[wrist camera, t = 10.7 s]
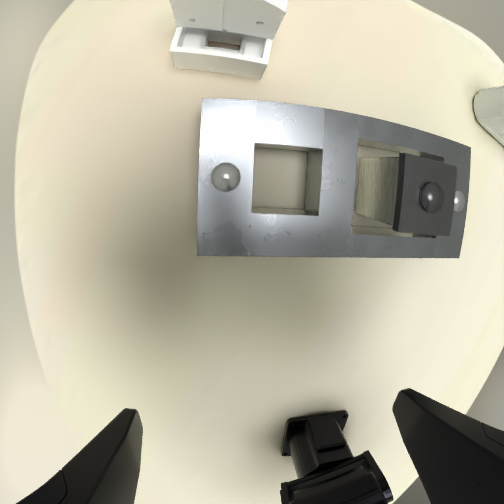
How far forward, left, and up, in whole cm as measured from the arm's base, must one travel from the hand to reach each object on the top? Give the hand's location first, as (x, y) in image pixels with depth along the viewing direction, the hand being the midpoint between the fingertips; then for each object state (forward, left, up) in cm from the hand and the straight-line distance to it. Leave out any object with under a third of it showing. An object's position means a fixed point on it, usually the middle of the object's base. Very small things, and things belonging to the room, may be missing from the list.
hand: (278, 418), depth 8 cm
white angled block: (+16, +2, -13) cm, 21 cm away
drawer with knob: (+7, -10, -13) cm, 18 cm away
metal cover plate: (+7, -7, -13) cm, 16 cm away
